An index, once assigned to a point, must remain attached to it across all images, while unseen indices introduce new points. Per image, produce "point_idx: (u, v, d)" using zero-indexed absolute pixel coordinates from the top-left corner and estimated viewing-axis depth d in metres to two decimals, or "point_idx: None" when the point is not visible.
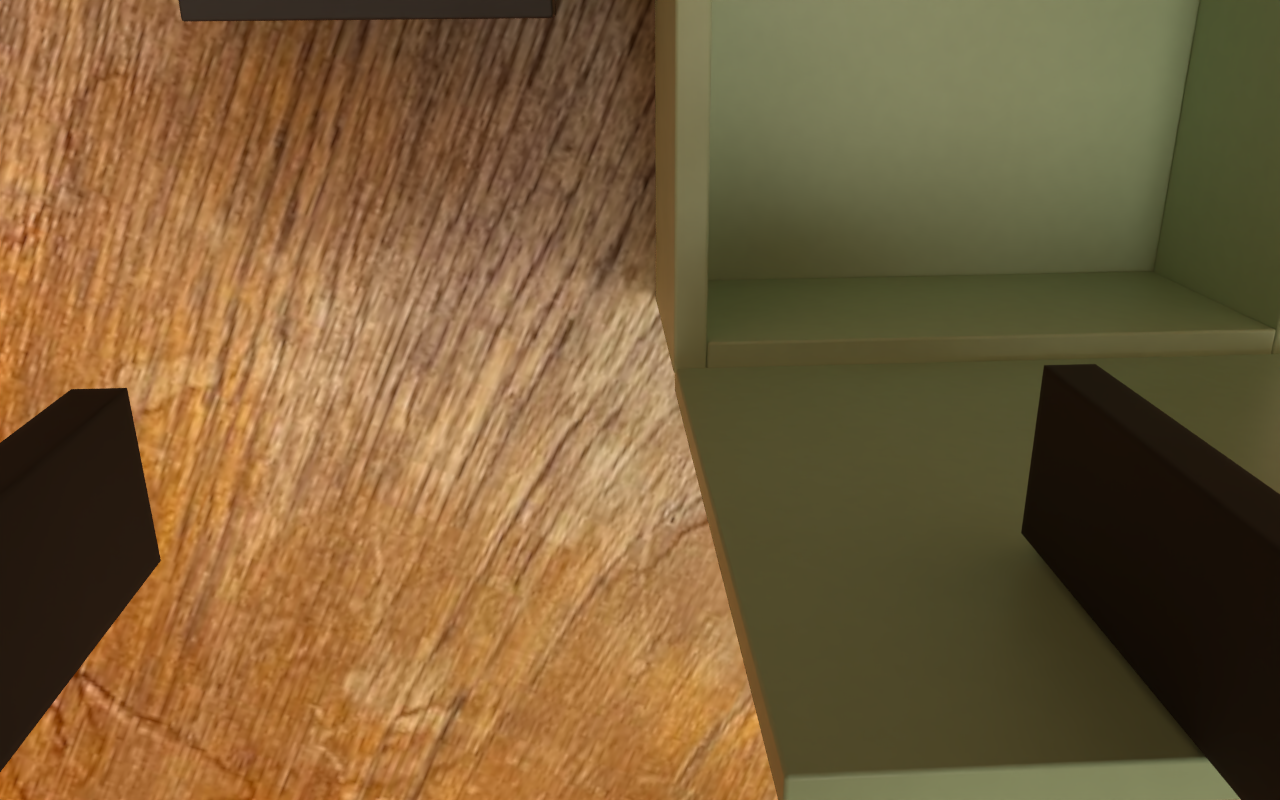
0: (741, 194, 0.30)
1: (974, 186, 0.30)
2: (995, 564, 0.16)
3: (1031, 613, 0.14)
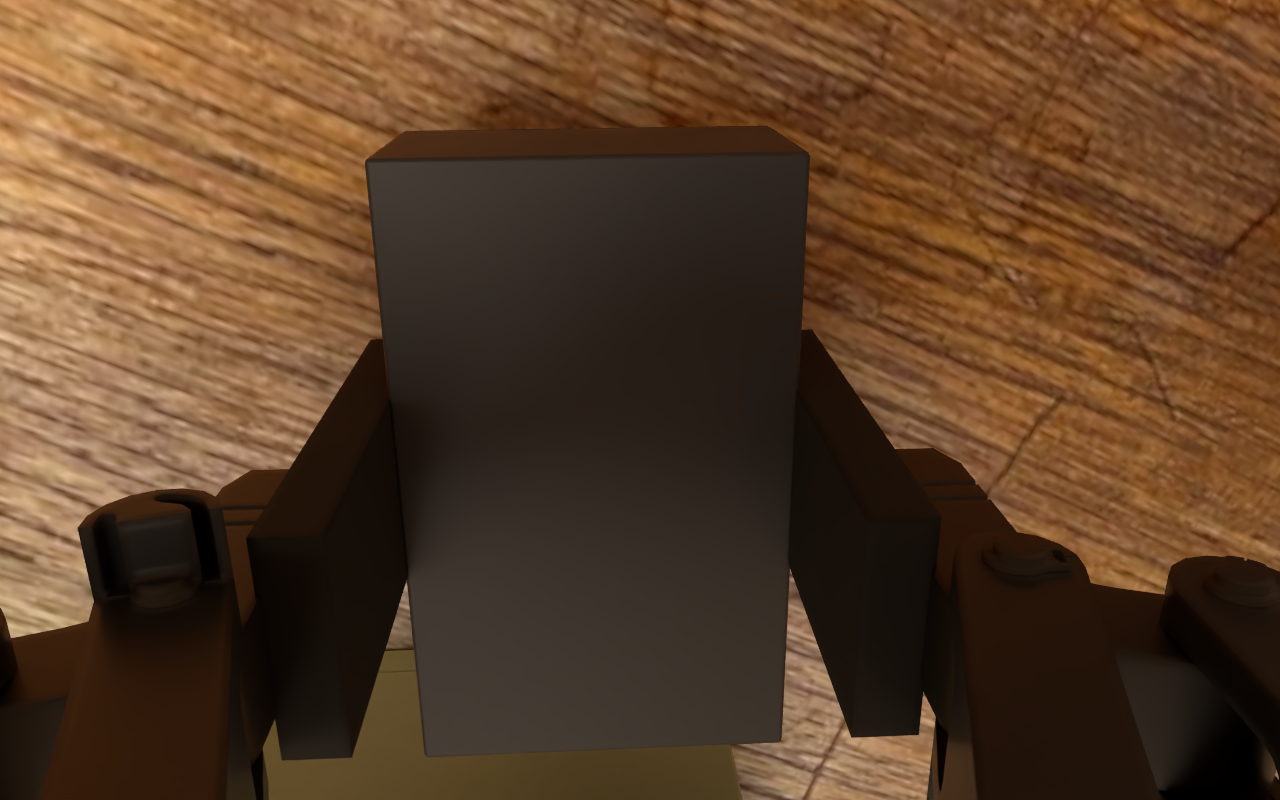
0: None
1: None
2: None
3: None
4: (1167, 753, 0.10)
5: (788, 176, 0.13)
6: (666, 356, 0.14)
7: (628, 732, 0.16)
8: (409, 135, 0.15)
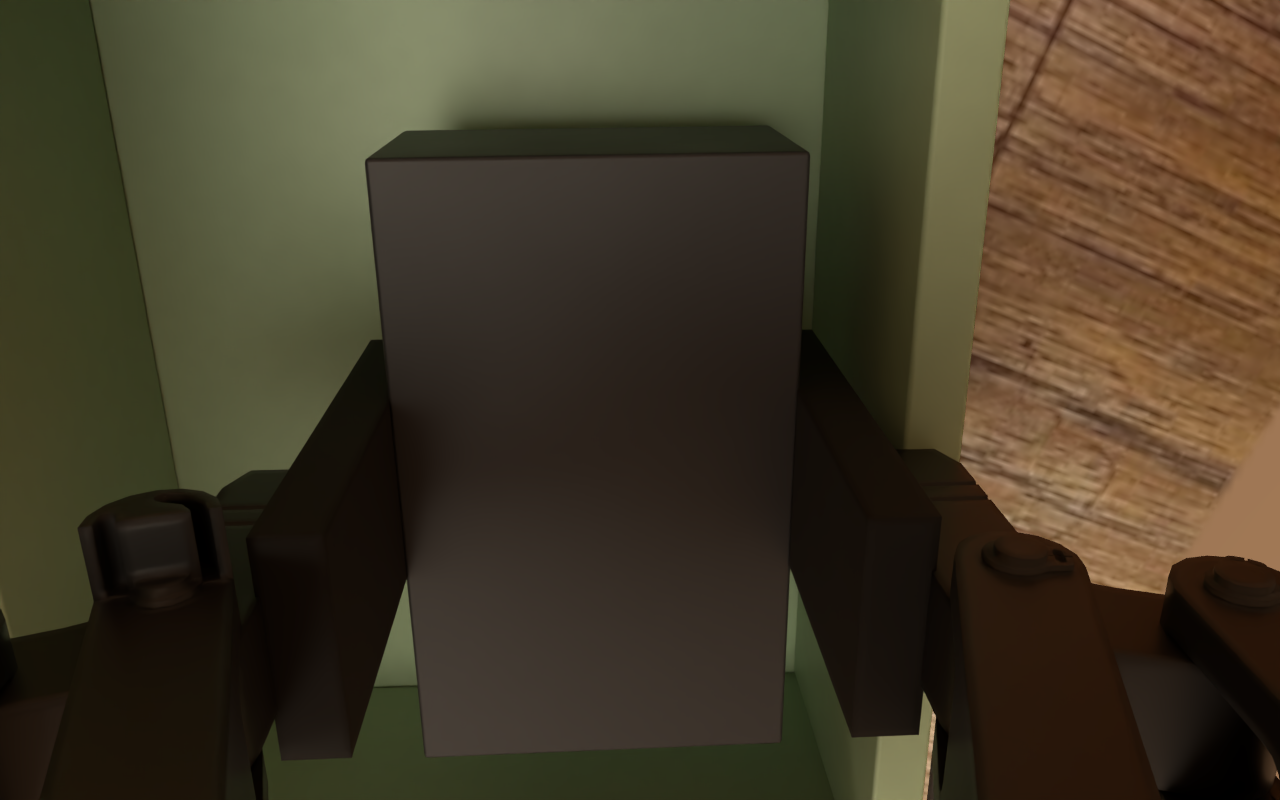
0: (254, 61, 0.17)
1: None
2: None
3: None
4: (1167, 753, 0.10)
5: (788, 176, 0.13)
6: (666, 356, 0.14)
7: (628, 733, 0.16)
8: (409, 134, 0.15)
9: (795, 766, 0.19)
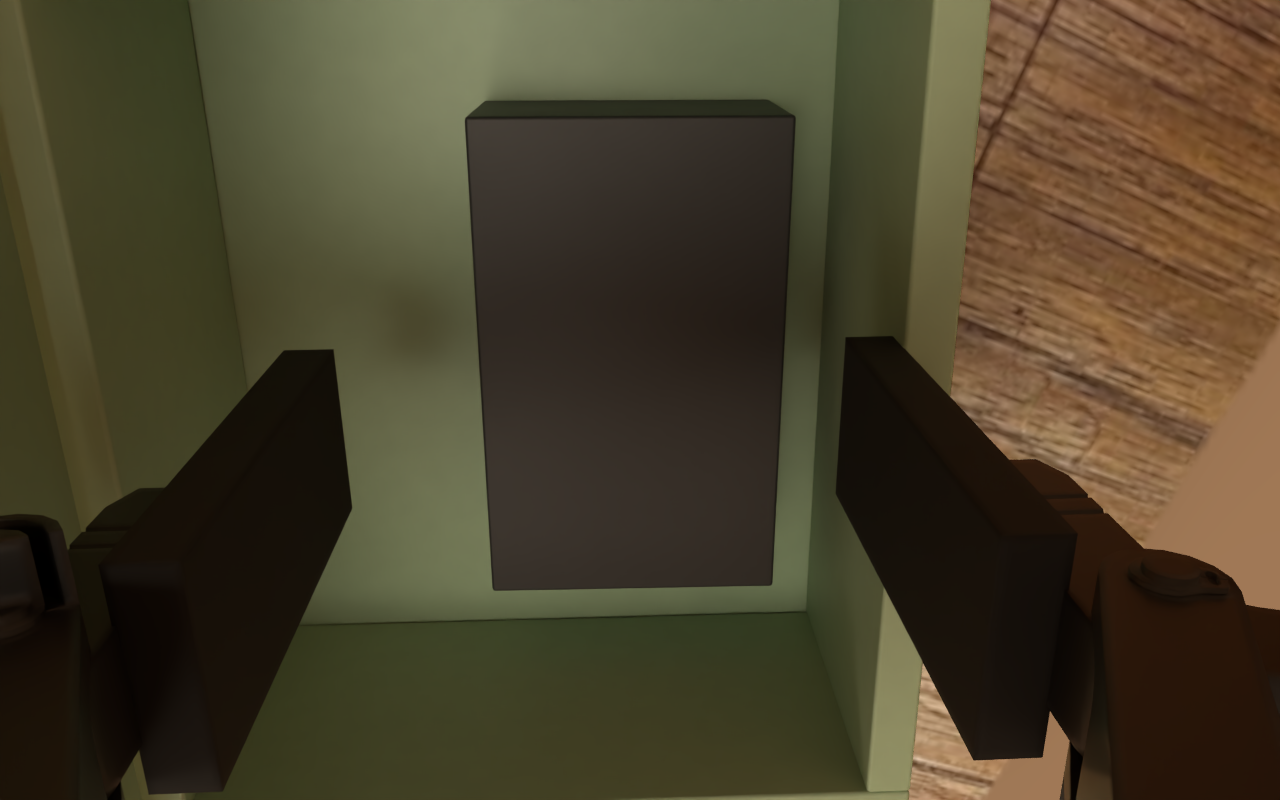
0: (330, 54, 0.20)
1: (372, 390, 0.22)
2: None
3: None
4: None
5: (779, 133, 0.17)
6: (686, 271, 0.18)
7: (652, 574, 0.20)
8: (490, 103, 0.19)
9: (806, 689, 0.22)
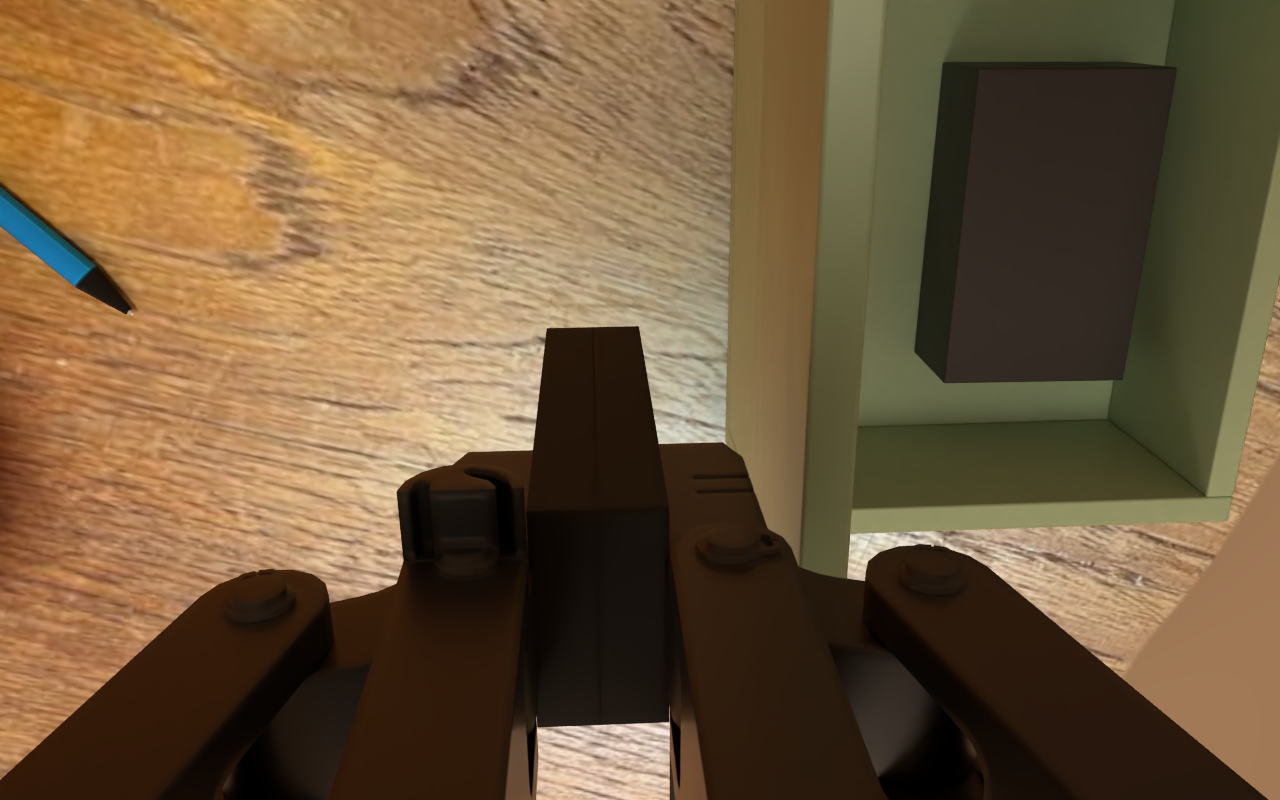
0: None
1: None
2: None
3: None
4: (863, 737, 0.10)
5: (1166, 78, 0.28)
6: (1098, 166, 0.29)
7: (1047, 372, 0.31)
8: (956, 63, 0.30)
9: (1135, 454, 0.32)
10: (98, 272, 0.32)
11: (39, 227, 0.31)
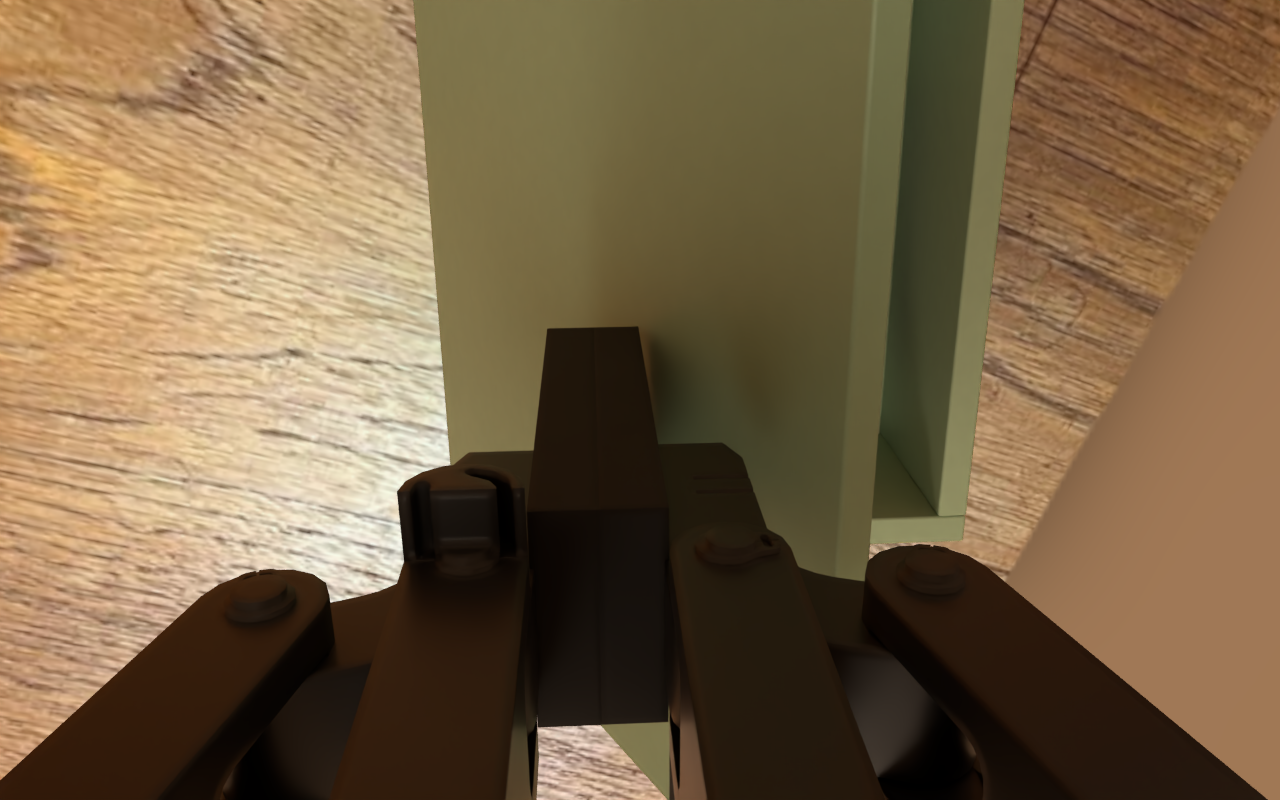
0: None
1: None
2: None
3: None
4: (863, 737, 0.10)
5: None
6: None
7: None
8: None
9: (889, 470, 0.31)
10: None
11: None
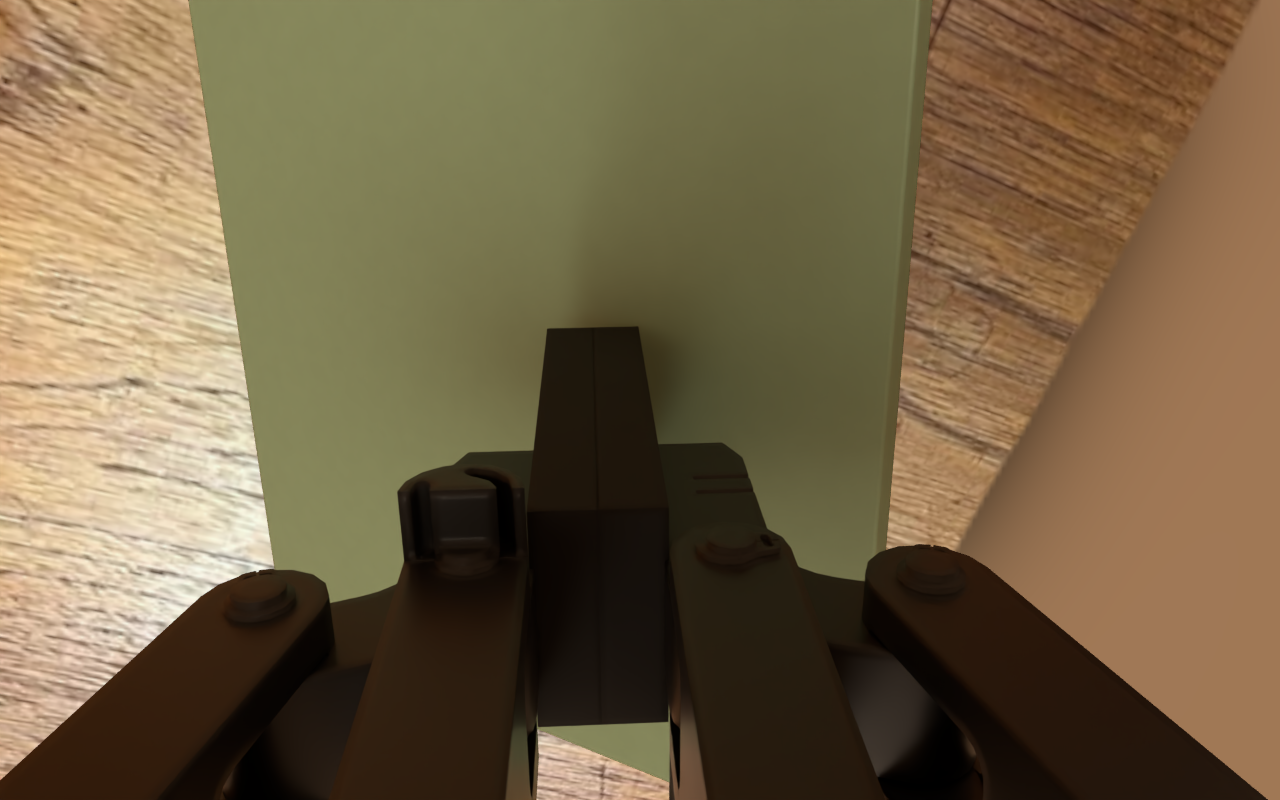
0: None
1: None
2: None
3: None
4: (863, 737, 0.10)
5: None
6: None
7: None
8: None
9: None
10: None
11: None
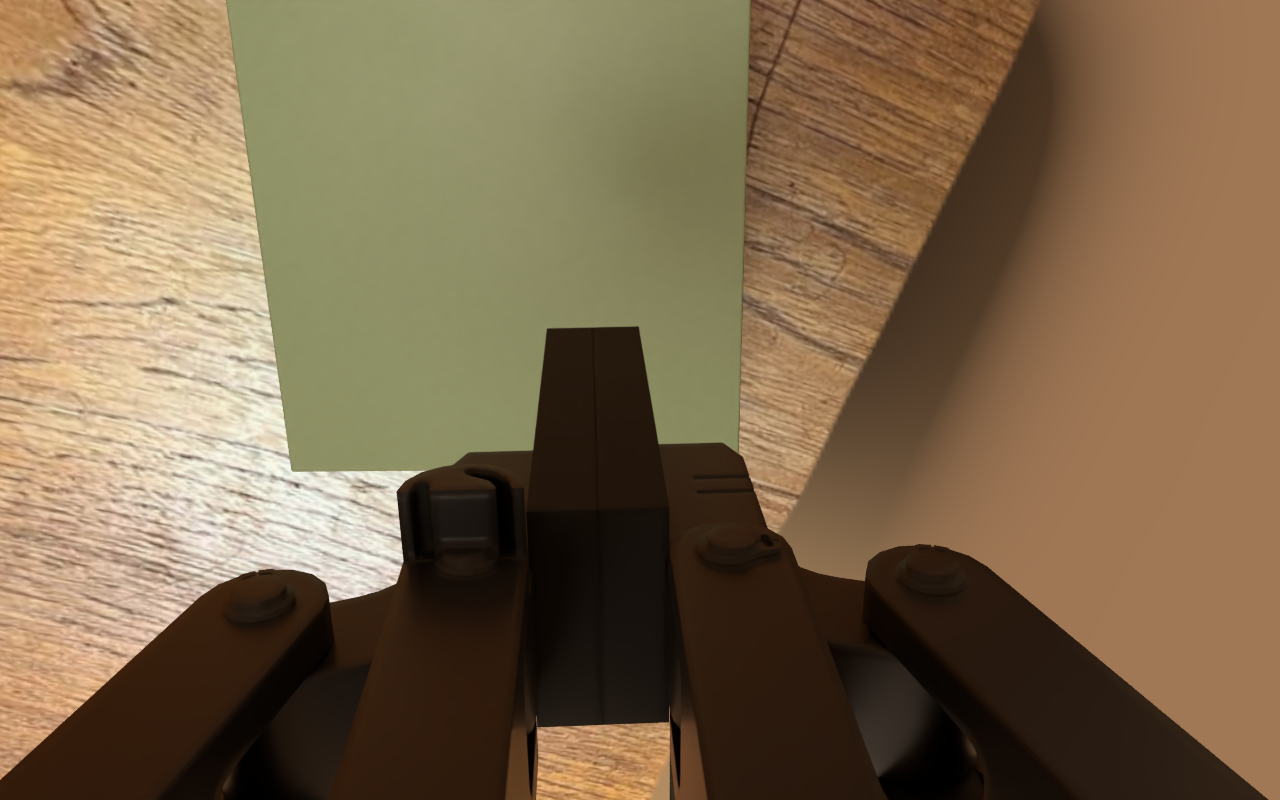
0: None
1: None
2: None
3: None
4: (863, 737, 0.10)
5: None
6: None
7: None
8: None
9: None
10: None
11: None
